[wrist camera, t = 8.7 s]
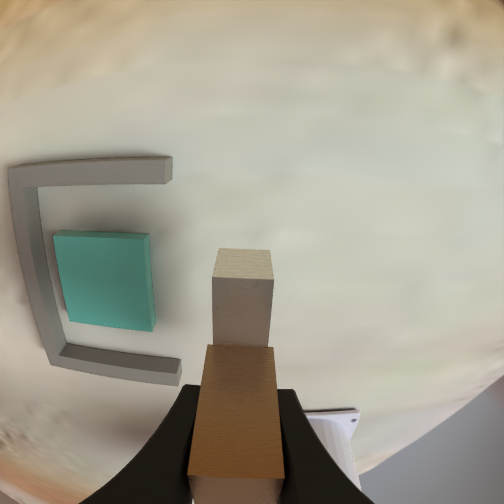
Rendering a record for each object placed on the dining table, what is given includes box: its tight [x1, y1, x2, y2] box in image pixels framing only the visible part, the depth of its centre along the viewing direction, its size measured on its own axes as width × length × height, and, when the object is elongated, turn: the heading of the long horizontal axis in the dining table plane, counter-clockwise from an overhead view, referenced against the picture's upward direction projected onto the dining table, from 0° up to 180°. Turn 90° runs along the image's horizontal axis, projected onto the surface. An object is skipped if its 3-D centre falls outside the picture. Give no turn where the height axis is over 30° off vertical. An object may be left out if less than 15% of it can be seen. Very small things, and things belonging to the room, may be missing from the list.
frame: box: [8, 157, 182, 386], centre depth 18 cm, size 14×10×2 cm
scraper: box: [187, 248, 285, 504], centre depth 11 cm, size 8×2×8 cm, turn 177°
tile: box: [53, 230, 156, 332], centre depth 19 cm, size 6×6×2 cm
